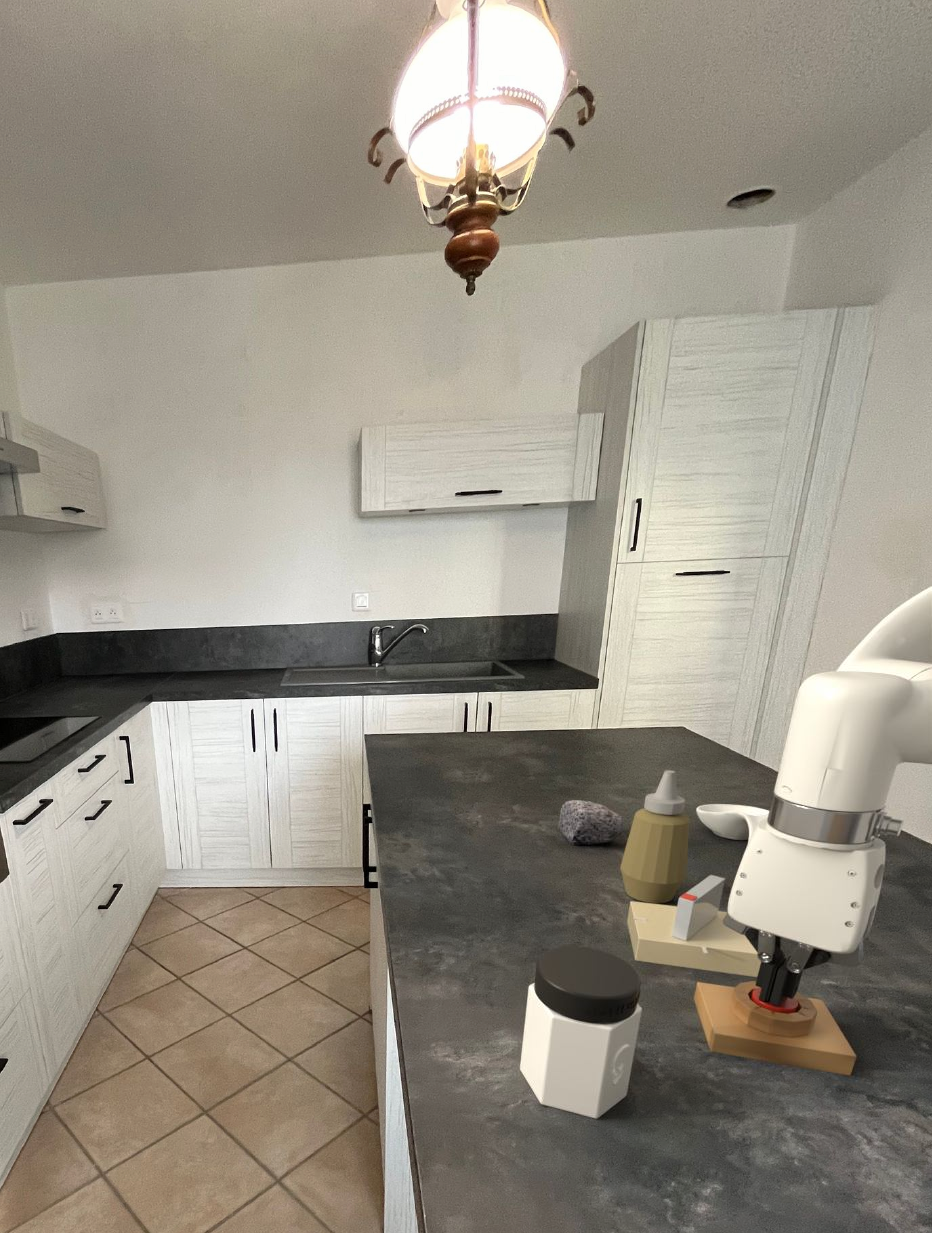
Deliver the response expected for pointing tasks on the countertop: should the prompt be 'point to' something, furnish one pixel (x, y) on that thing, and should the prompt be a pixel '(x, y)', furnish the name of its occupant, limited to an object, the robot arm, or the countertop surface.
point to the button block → (772, 1029)
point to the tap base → (689, 942)
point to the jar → (581, 1029)
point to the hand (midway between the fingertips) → (773, 997)
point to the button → (784, 1007)
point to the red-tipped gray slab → (698, 907)
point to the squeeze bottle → (657, 846)
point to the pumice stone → (589, 823)
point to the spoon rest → (731, 819)
